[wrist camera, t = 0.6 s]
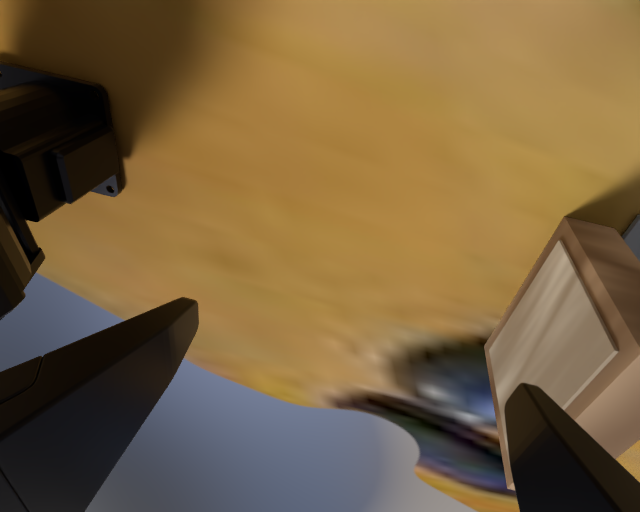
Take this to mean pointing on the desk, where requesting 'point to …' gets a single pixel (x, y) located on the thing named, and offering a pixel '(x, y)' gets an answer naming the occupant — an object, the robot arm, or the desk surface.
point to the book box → (575, 336)
